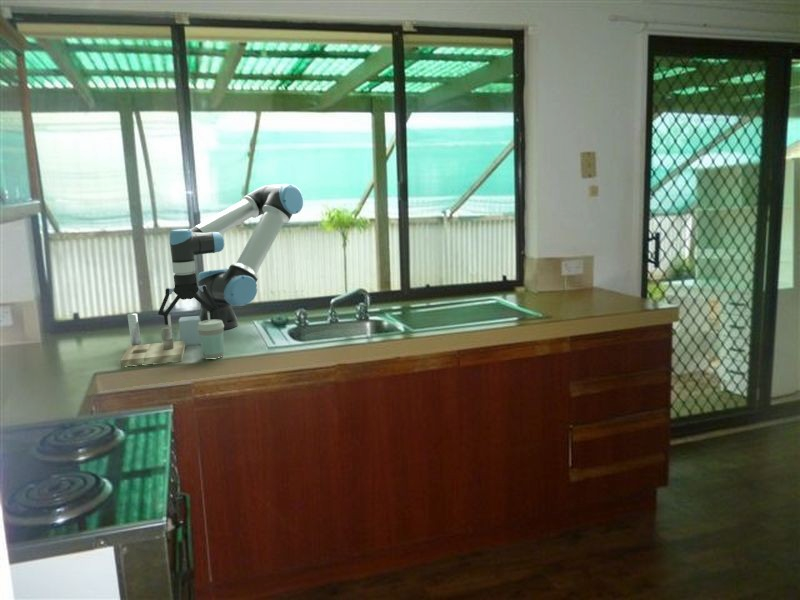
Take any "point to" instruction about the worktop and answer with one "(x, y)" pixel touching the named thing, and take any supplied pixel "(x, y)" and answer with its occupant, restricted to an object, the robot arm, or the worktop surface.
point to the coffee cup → (211, 337)
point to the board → (155, 351)
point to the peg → (134, 329)
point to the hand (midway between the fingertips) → (190, 331)
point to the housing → (189, 330)
